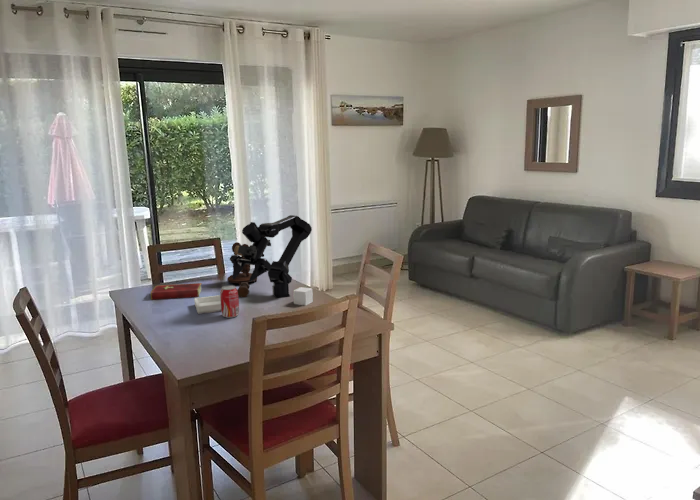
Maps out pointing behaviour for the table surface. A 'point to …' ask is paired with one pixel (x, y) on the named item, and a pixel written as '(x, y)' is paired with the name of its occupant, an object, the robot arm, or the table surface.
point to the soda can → (229, 301)
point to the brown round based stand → (245, 272)
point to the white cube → (303, 296)
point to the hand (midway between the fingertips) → (241, 279)
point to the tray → (208, 304)
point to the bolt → (243, 289)
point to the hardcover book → (176, 291)
